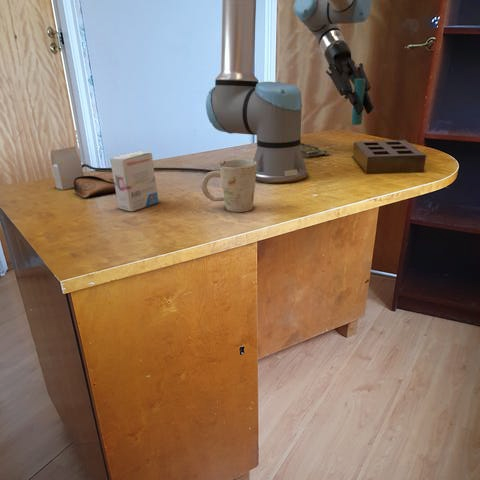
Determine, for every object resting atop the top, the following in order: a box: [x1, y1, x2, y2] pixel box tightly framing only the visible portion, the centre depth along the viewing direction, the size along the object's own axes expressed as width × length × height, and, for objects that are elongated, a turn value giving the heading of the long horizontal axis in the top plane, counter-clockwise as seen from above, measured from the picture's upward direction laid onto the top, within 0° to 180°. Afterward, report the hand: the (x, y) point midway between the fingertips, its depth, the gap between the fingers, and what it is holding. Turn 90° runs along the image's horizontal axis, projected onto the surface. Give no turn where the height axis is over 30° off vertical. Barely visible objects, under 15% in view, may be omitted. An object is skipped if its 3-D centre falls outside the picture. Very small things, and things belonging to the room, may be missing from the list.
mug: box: [200, 158, 257, 213], centre depth 110 cm, size 8×13×10 cm, turn 89°
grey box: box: [50, 145, 85, 191], centre depth 133 cm, size 4×7×10 cm, turn 135°
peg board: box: [352, 139, 427, 174], centre depth 144 cm, size 16×22×4 cm
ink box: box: [109, 151, 159, 212], centre depth 114 cm, size 9×5×12 cm, turn 141°
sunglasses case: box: [73, 171, 116, 199], centre depth 130 cm, size 18×7×7 cm
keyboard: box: [300, 142, 328, 159], centre depth 165 cm, size 22×9×2 cm, turn 26°
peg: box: [351, 79, 365, 126], centre depth 154 cm, size 3×3×13 cm
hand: (365, 111), depth 153 cm, fingers closed on peg, 3 cm apart
